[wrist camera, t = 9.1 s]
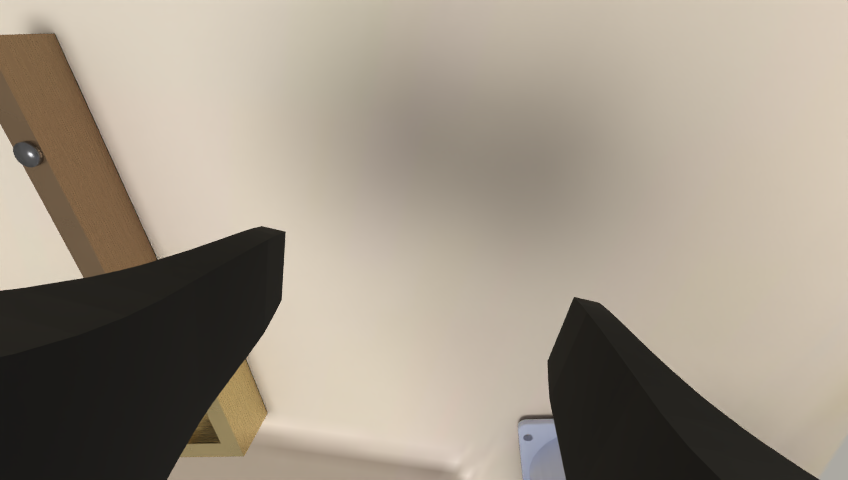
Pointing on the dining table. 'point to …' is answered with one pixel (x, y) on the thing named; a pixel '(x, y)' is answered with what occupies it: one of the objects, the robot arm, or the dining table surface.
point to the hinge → (97, 205)
